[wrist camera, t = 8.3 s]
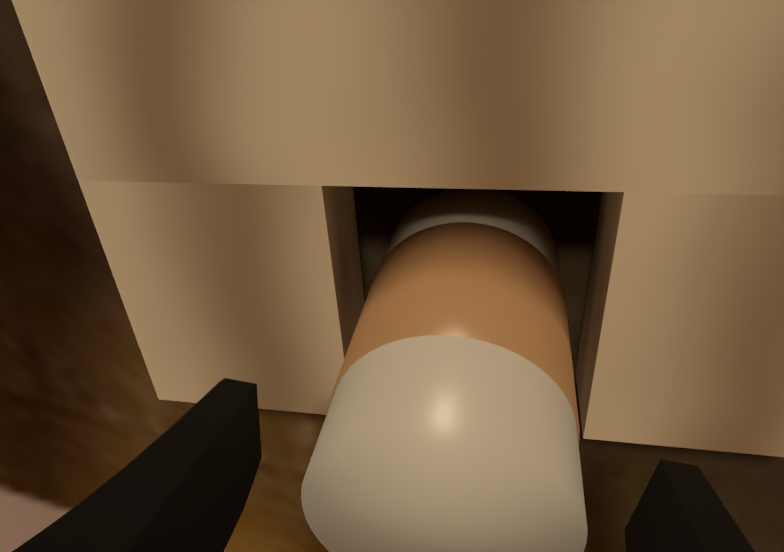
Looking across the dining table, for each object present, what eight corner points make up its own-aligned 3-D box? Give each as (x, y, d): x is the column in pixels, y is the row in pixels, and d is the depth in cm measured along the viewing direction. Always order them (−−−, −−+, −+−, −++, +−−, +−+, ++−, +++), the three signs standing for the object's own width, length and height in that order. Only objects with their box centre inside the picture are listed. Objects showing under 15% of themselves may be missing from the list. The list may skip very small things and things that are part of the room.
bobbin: (381, 318, 18) (300, 573, 11) (392, 173, 15) (295, 394, 9) (540, 345, 17) (553, 628, 11) (579, 199, 15) (630, 455, 8)
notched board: (196, 345, 20) (158, 399, 18) (69, -74, 13) (-13, -66, 11) (796, 390, 17) (836, 461, 14) (1015, -135, 10) (1143, -140, 8)
